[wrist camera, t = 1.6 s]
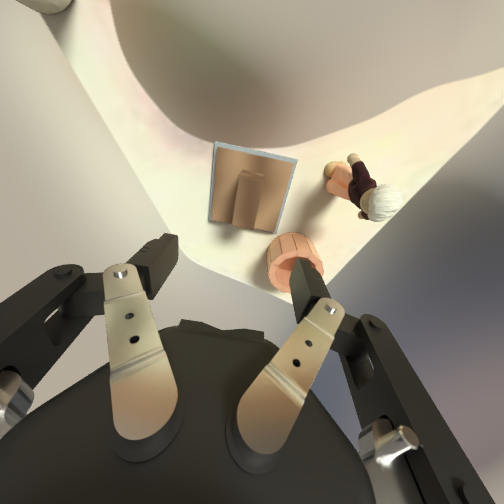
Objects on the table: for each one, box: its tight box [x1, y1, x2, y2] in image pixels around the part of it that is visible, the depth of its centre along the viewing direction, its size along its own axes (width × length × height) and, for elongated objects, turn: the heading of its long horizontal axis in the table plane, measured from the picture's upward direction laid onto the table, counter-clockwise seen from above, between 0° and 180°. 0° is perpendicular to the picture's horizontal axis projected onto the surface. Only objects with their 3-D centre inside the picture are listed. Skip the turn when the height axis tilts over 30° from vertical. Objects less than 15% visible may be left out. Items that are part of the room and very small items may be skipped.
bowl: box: [267, 233, 324, 293], centre depth 31 cm, size 8×8×6 cm
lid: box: [211, 147, 294, 232], centre depth 25 cm, size 10×10×6 cm
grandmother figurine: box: [325, 153, 403, 222], centre depth 21 cm, size 8×4×13 cm, turn 36°
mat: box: [209, 141, 297, 233], centre depth 28 cm, size 11×11×1 cm
